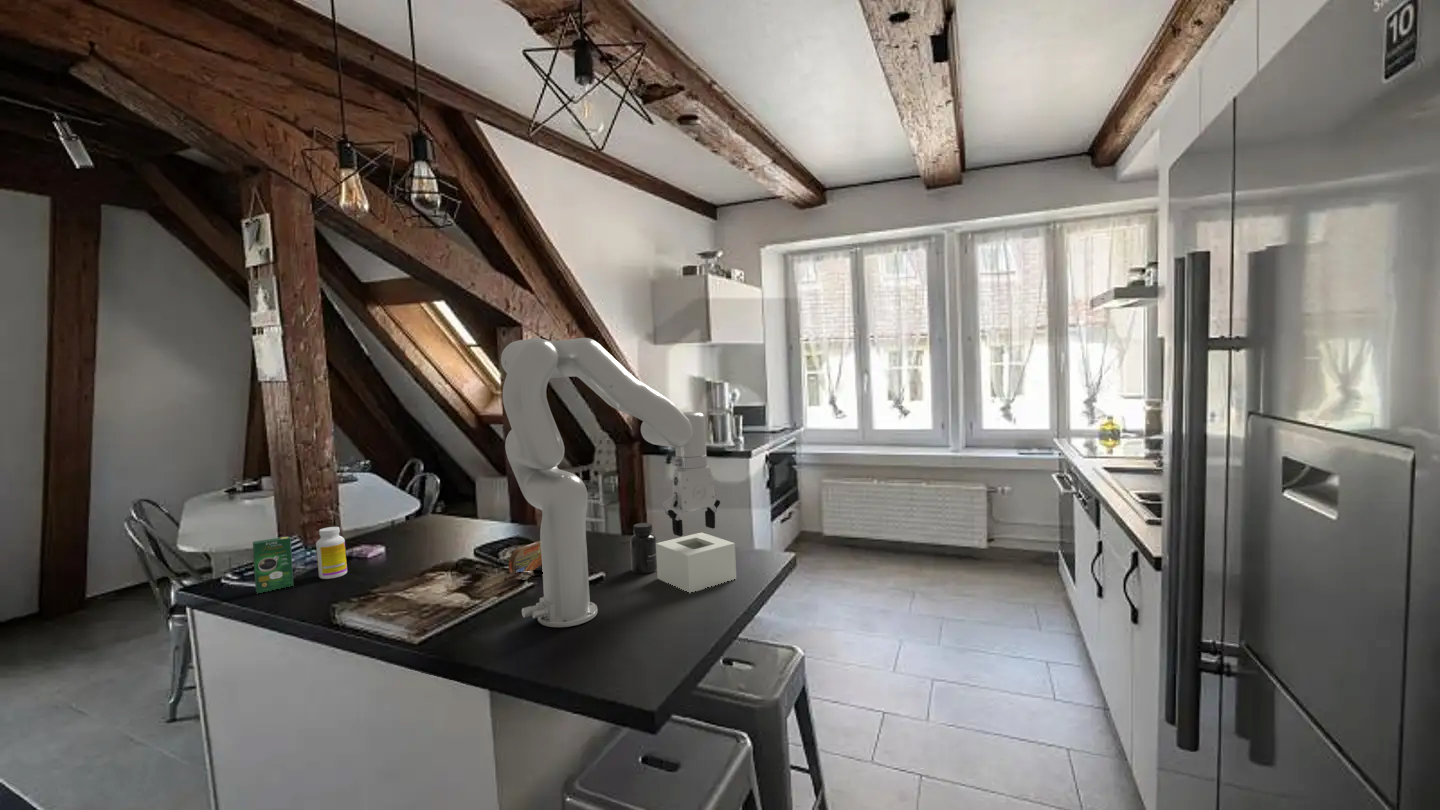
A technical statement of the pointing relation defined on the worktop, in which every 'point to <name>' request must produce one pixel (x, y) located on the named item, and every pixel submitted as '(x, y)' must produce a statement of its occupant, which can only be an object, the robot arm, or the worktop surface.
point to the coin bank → (696, 561)
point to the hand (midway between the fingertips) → (694, 531)
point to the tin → (526, 558)
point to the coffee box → (272, 564)
